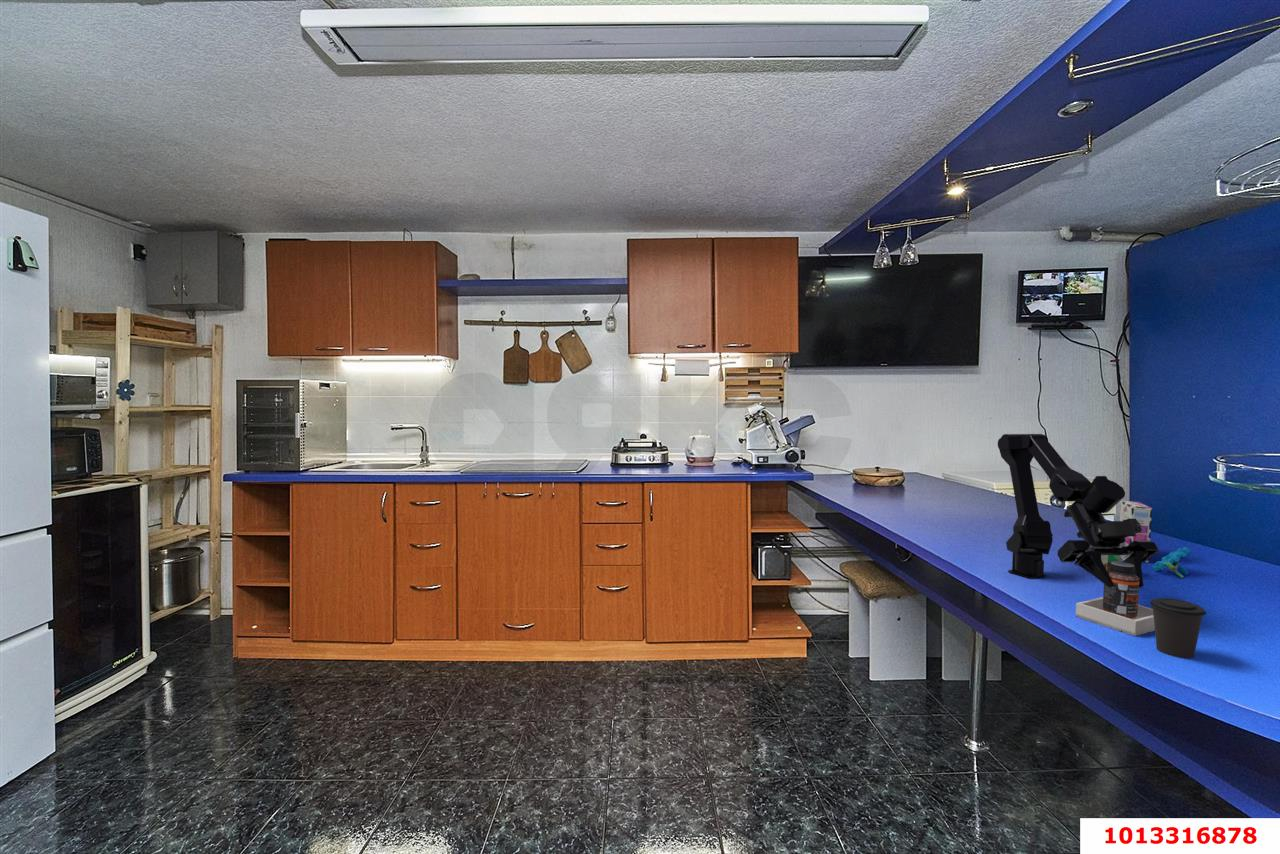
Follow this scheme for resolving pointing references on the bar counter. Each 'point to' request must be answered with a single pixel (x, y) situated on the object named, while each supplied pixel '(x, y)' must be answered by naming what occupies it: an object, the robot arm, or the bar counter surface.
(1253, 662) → the bar counter surface
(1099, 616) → the tray
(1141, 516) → the candy bar box
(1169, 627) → the coffee cup
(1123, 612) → the supplement bottle
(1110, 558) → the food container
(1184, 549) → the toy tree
